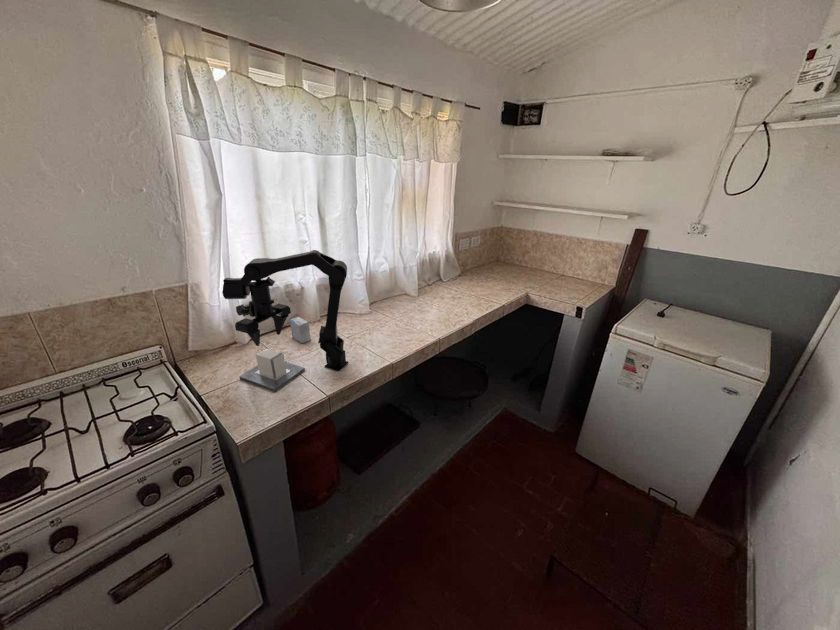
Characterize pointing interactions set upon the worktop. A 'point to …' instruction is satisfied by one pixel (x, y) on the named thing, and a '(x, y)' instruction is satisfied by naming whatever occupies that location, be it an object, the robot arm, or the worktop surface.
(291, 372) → the duct plate
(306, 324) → the medicine box
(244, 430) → the worktop surface
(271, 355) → the light grey block
